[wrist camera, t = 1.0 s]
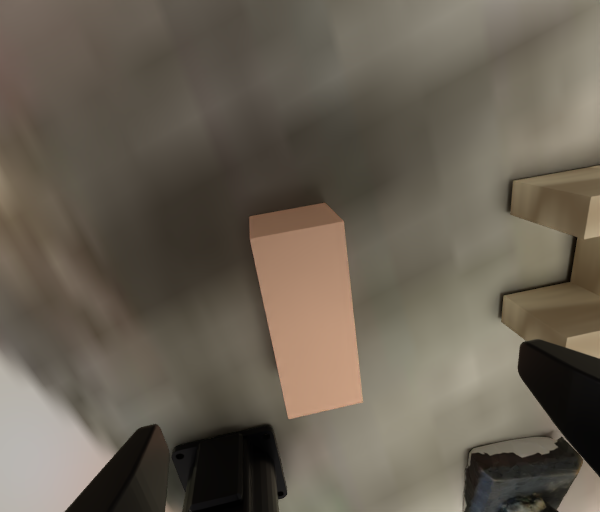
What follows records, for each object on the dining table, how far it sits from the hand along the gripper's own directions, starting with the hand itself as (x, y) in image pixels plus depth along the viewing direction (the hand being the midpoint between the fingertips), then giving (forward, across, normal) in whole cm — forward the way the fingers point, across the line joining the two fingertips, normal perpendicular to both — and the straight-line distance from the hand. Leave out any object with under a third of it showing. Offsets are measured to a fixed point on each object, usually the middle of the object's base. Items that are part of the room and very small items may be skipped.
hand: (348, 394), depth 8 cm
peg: (+11, 0, +3) cm, 12 cm away
